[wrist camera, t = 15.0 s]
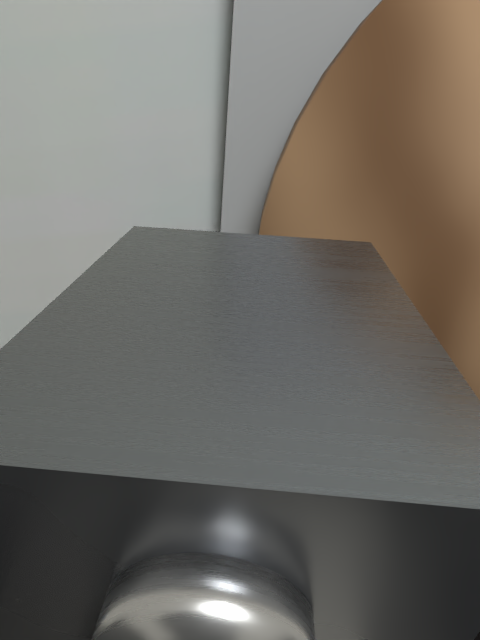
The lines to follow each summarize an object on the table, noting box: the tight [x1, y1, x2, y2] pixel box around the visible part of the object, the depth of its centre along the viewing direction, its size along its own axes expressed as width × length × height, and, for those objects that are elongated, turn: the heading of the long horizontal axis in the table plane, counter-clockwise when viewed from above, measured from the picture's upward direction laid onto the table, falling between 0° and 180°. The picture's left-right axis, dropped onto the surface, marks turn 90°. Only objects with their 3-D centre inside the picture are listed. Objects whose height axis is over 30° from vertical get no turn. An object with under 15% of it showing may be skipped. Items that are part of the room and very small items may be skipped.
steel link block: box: [0, 226, 480, 640], centre depth 6 cm, size 8×4×5 cm, turn 177°
